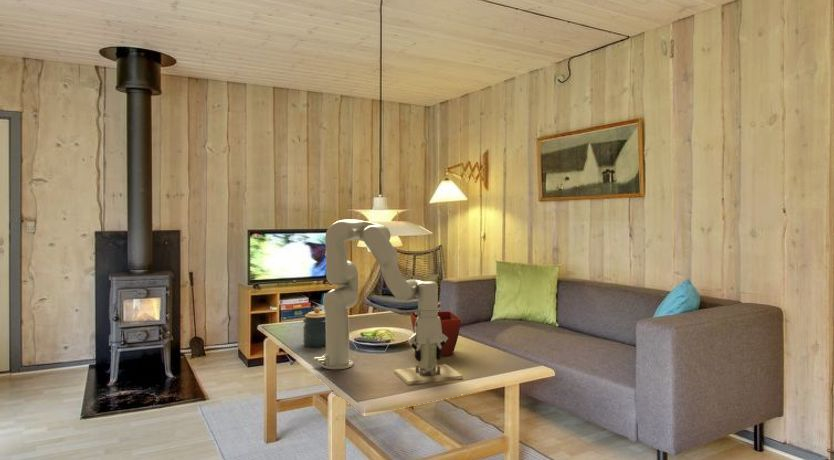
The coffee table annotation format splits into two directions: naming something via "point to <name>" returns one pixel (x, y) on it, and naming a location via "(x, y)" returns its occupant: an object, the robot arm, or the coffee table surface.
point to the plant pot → (446, 330)
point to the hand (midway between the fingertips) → (427, 359)
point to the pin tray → (427, 374)
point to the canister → (315, 329)
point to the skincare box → (428, 355)
